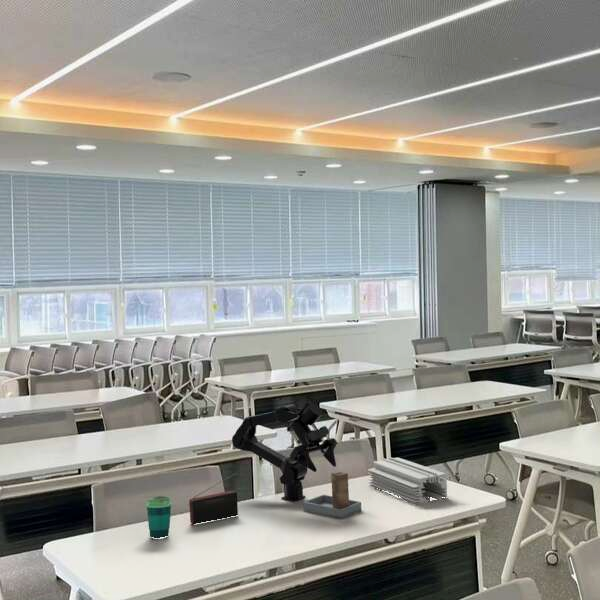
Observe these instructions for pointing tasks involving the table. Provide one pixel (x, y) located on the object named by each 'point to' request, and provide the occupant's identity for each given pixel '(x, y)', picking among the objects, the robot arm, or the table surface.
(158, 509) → the cup
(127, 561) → the table surface
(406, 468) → the aluminum extrusion profile
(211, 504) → the radio
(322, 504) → the tray
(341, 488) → the block
